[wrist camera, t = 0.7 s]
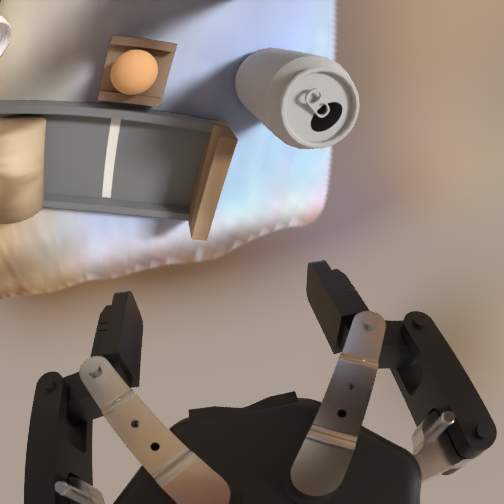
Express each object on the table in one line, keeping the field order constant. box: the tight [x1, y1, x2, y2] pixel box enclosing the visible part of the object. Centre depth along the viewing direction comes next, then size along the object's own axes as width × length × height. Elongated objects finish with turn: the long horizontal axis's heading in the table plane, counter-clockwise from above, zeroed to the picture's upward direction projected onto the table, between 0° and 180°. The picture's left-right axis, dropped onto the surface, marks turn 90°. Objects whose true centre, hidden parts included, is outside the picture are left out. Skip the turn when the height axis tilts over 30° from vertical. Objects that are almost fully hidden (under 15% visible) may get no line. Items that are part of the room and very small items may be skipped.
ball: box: [110, 50, 158, 95], centre depth 21 cm, size 4×4×4 cm
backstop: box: [188, 120, 238, 240], centre depth 30 cm, size 2×11×6 cm, turn 162°
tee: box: [98, 35, 177, 107], centre depth 22 cm, size 6×6×3 cm
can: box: [235, 48, 359, 149], centre depth 23 cm, size 8×8×12 cm
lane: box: [0, 100, 214, 220], centre depth 27 cm, size 23×11×2 cm, turn 72°
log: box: [0, 114, 46, 224], centre depth 21 cm, size 7×8×7 cm
